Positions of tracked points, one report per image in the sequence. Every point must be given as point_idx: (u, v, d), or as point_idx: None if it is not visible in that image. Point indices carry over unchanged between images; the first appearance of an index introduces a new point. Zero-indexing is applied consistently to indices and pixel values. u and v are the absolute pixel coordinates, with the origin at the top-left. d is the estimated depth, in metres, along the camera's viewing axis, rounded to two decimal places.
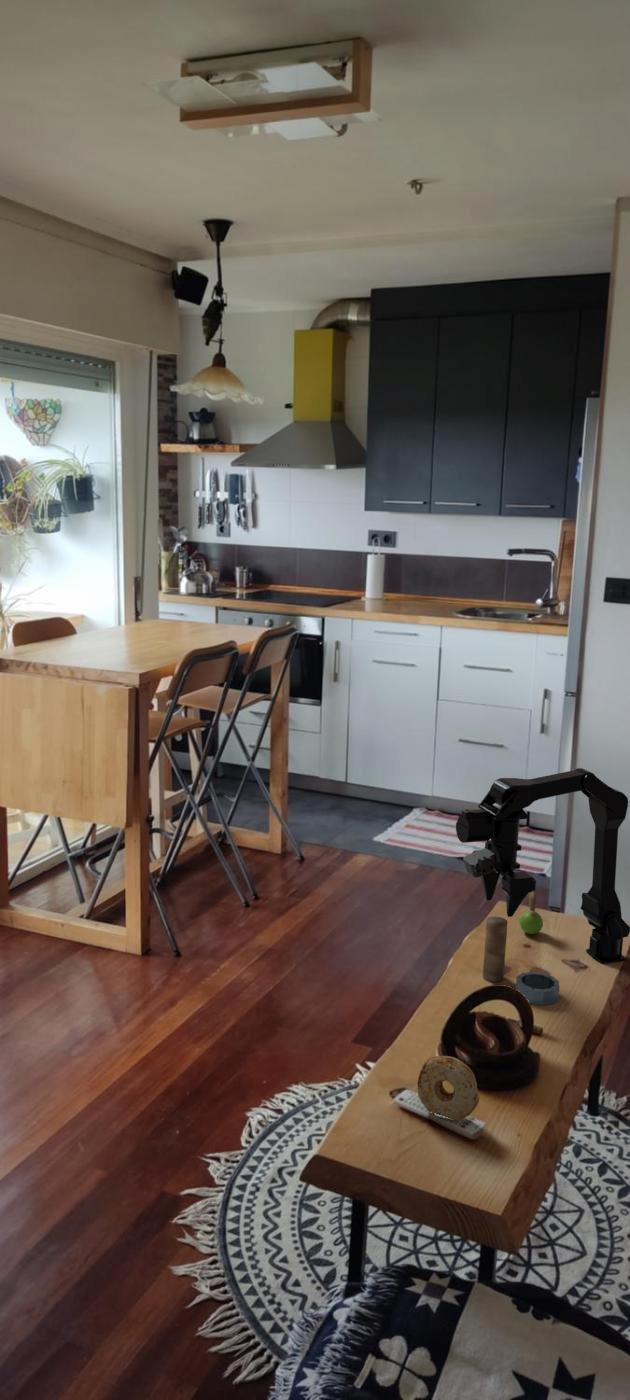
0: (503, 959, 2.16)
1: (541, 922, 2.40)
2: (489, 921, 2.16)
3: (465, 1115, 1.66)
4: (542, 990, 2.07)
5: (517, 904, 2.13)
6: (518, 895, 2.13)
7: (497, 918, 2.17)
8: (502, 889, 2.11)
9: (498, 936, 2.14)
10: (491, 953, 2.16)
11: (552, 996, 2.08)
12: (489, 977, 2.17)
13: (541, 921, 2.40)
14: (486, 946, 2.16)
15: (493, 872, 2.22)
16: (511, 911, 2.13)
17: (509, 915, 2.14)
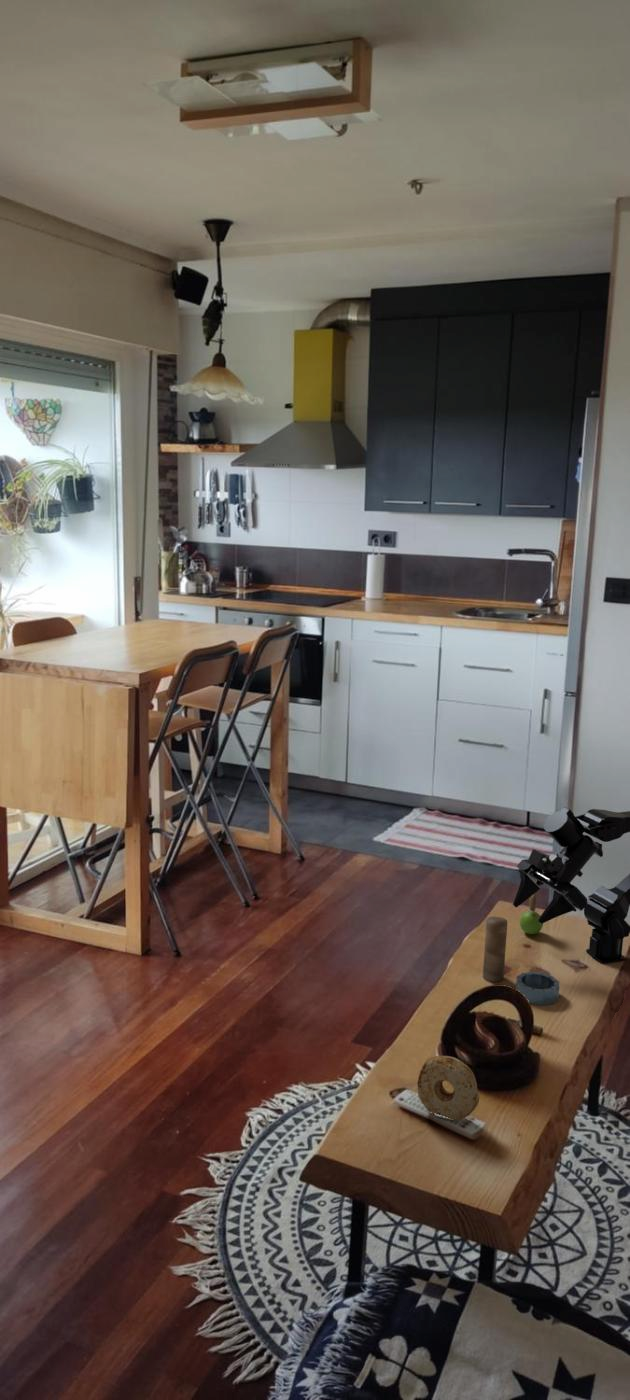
0: (503, 959, 2.16)
1: None
2: (489, 921, 2.16)
3: (465, 1115, 1.66)
4: (542, 990, 2.07)
5: (554, 915, 2.15)
6: (560, 908, 2.15)
7: (497, 918, 2.17)
8: (555, 892, 2.14)
9: (498, 936, 2.14)
10: (491, 953, 2.16)
11: (552, 996, 2.08)
12: (489, 977, 2.17)
13: None
14: (486, 946, 2.16)
15: (533, 886, 2.25)
16: (545, 917, 2.15)
17: (540, 920, 2.15)
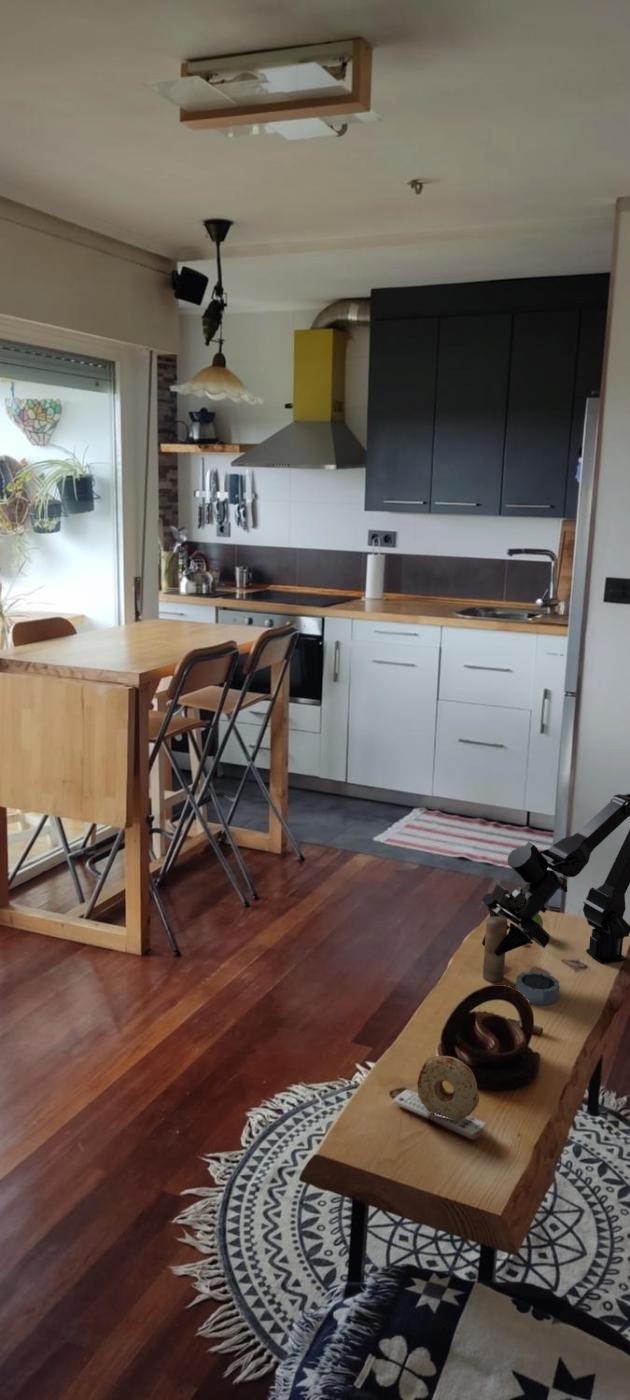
0: (503, 959, 2.16)
1: (541, 922, 2.40)
2: (489, 921, 2.16)
3: (465, 1115, 1.66)
4: (542, 990, 2.07)
5: (510, 948, 2.15)
6: (517, 940, 2.15)
7: (497, 918, 2.17)
8: (511, 924, 2.13)
9: (498, 936, 2.14)
10: (491, 953, 2.16)
11: (552, 996, 2.08)
12: (489, 977, 2.17)
13: (541, 921, 2.40)
14: (486, 946, 2.16)
15: None
16: (501, 949, 2.14)
17: (497, 952, 2.14)
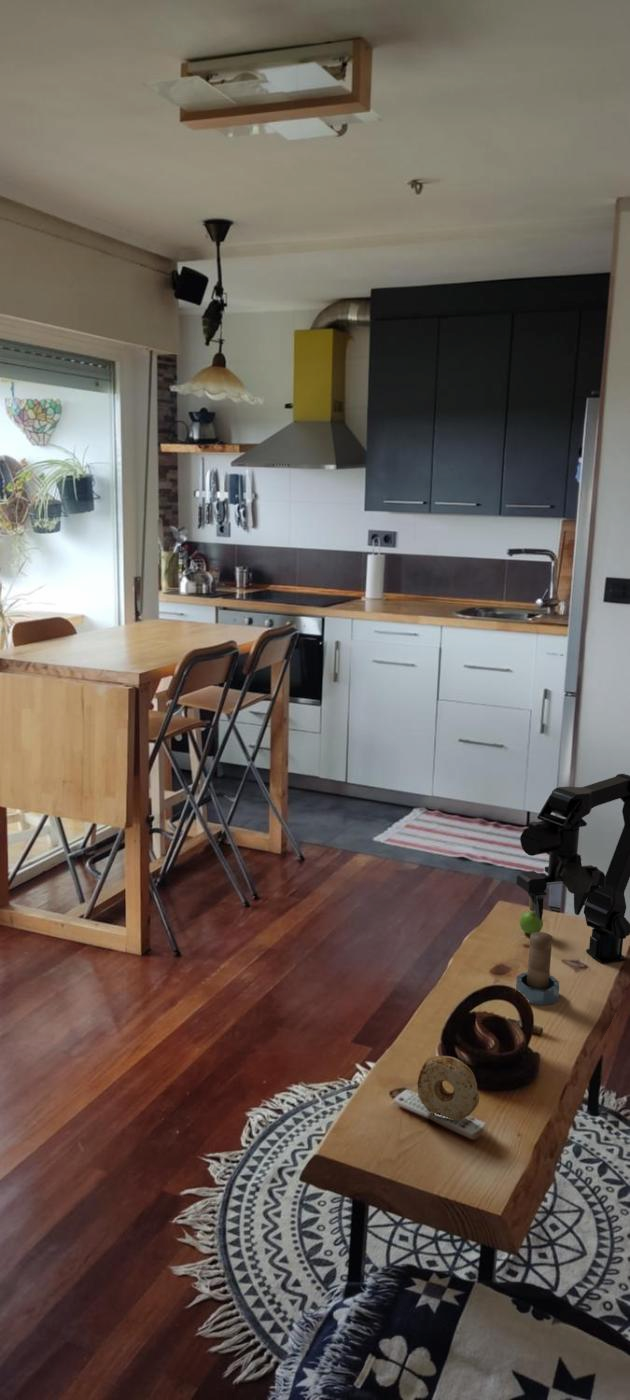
0: None
1: (541, 922, 2.40)
2: (535, 938, 2.08)
3: (465, 1115, 1.66)
4: (542, 990, 2.07)
5: None
6: None
7: (539, 933, 2.10)
8: (591, 889, 2.17)
9: (547, 952, 2.08)
10: (539, 971, 2.08)
11: (552, 996, 2.08)
12: None
13: (541, 921, 2.40)
14: (533, 964, 2.09)
15: None
16: None
17: None
